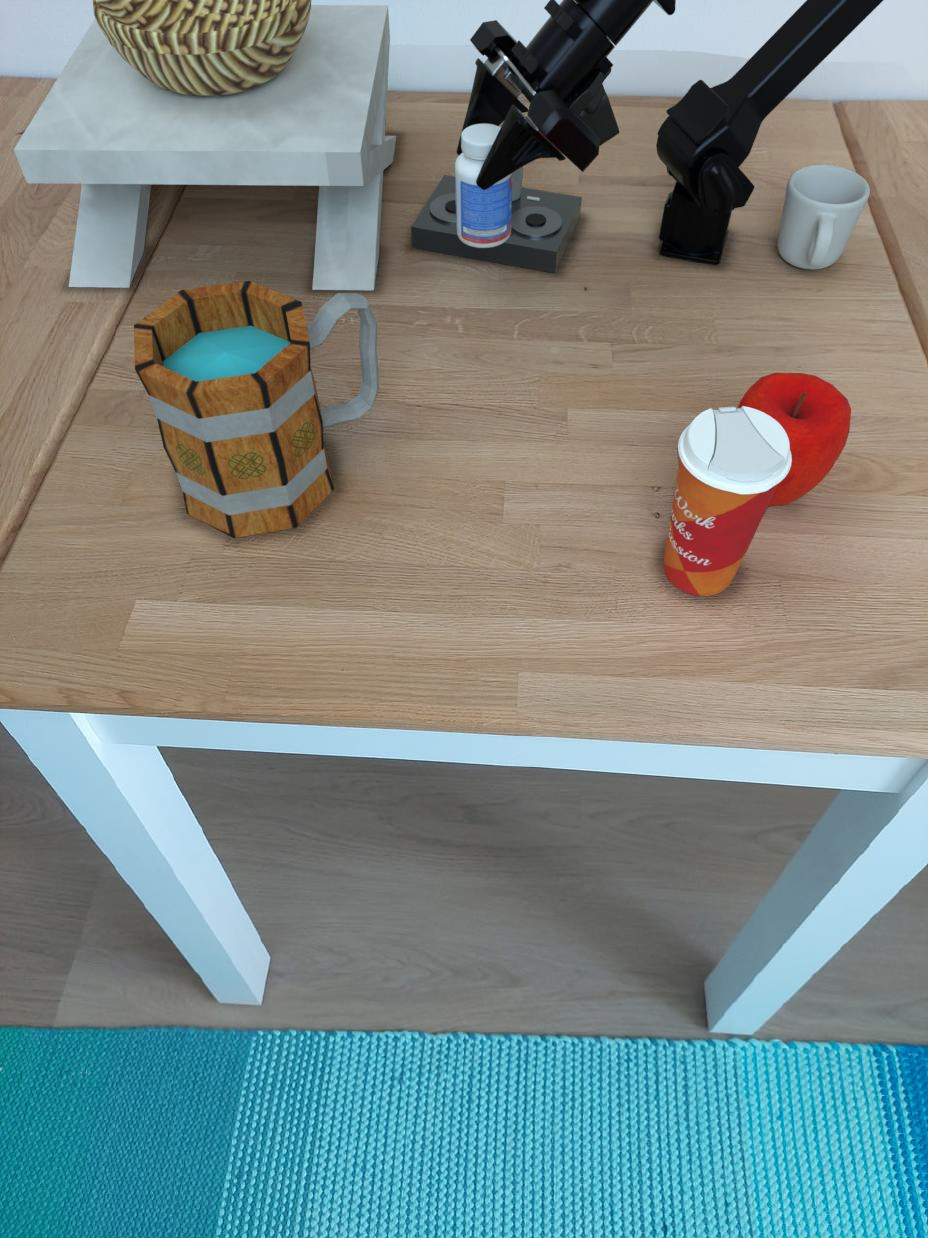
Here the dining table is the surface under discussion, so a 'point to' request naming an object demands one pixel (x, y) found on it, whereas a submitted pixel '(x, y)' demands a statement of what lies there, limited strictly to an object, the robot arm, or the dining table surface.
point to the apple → (803, 426)
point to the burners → (523, 220)
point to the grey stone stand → (219, 122)
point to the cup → (820, 214)
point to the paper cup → (722, 494)
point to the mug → (247, 400)
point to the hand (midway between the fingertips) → (469, 171)
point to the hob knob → (517, 184)
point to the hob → (517, 247)
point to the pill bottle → (481, 192)
